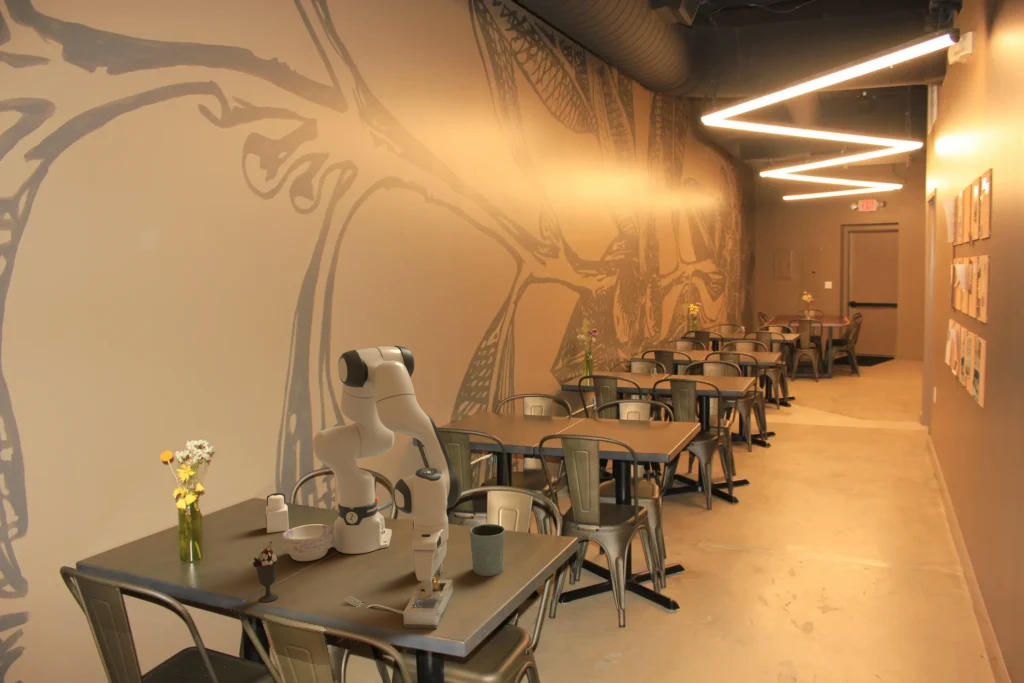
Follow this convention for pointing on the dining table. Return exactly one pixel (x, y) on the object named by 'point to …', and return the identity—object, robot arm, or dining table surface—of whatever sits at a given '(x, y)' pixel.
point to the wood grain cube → (435, 584)
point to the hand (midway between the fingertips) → (433, 584)
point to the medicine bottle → (276, 513)
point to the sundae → (266, 572)
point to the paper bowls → (308, 541)
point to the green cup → (487, 549)
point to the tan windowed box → (428, 606)
